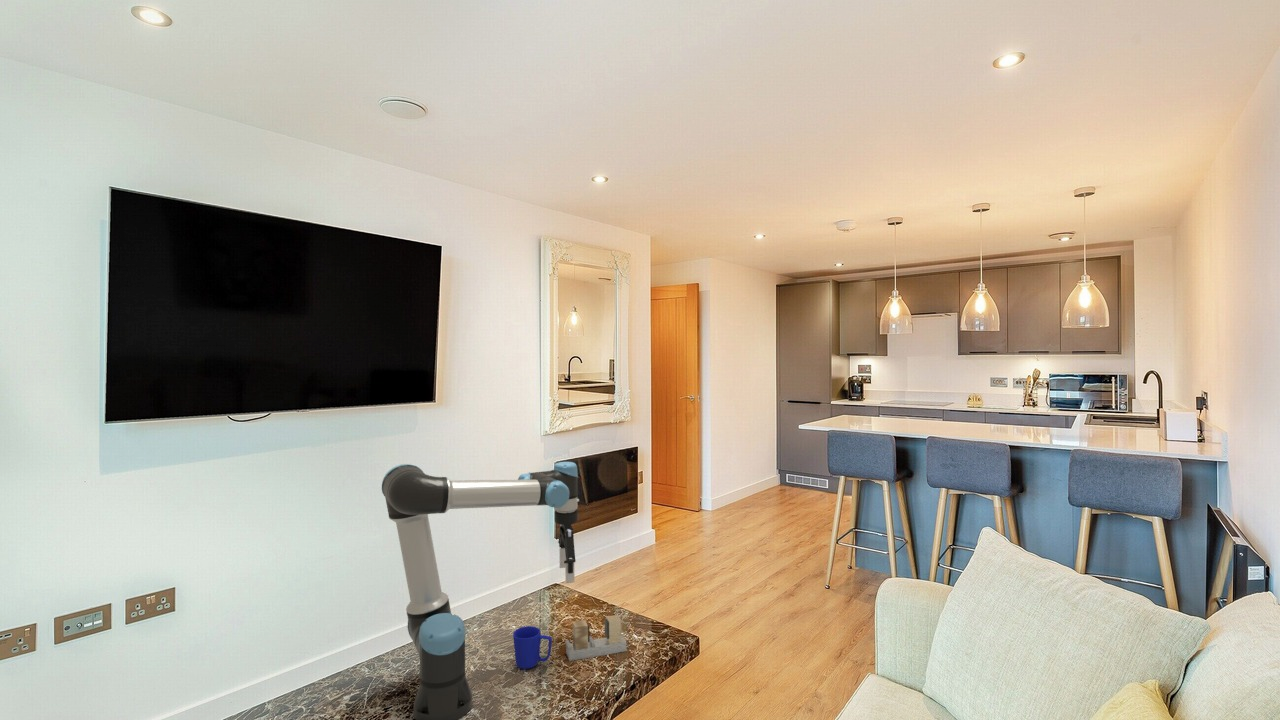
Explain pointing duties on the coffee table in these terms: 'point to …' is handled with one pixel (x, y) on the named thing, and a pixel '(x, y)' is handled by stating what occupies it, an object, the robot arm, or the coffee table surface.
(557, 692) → the coffee table surface
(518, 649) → the mug
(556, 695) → the coffee table surface
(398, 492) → the robot arm
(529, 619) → the coffee table surface
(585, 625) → the tan cardboard carton
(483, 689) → the coffee table surface
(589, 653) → the rail
